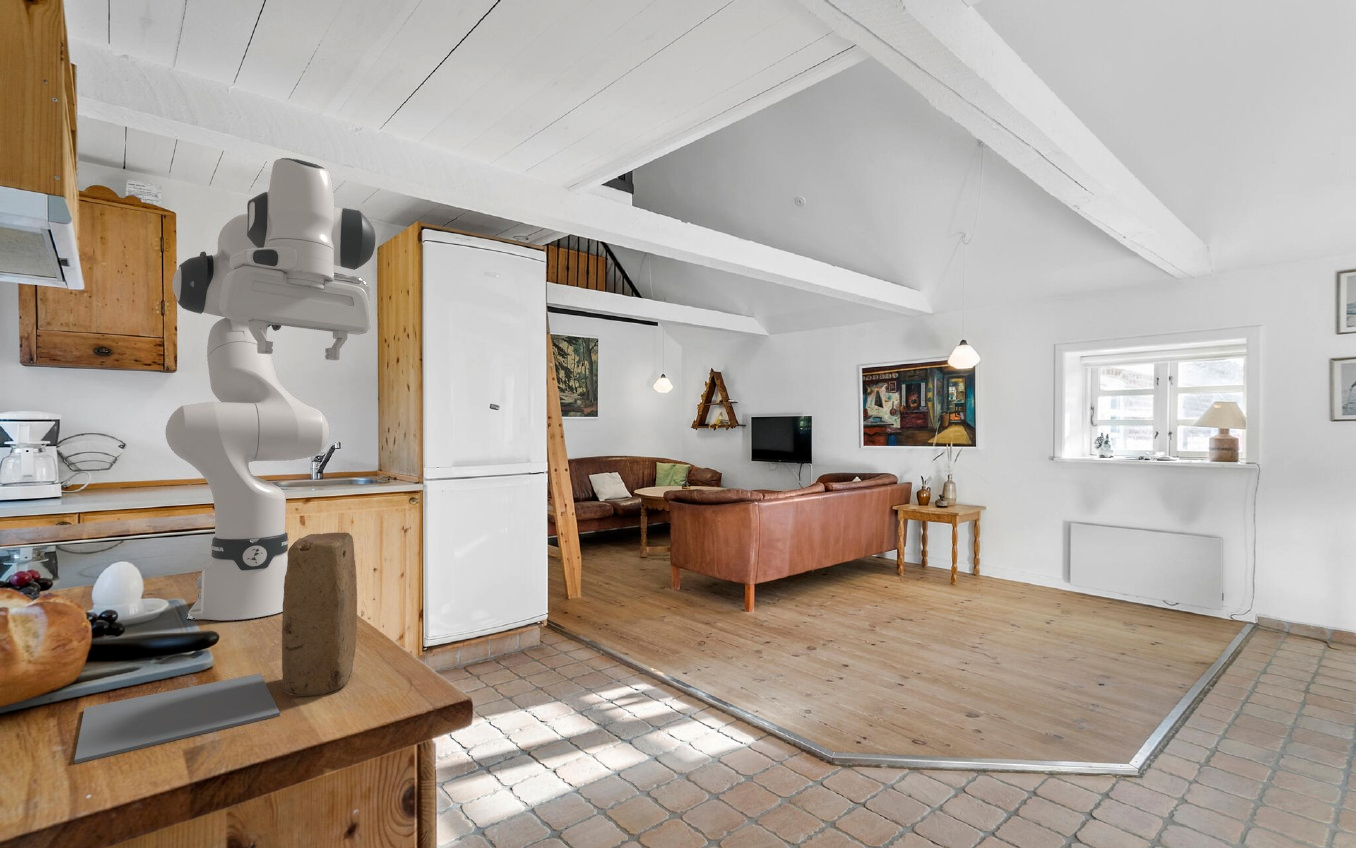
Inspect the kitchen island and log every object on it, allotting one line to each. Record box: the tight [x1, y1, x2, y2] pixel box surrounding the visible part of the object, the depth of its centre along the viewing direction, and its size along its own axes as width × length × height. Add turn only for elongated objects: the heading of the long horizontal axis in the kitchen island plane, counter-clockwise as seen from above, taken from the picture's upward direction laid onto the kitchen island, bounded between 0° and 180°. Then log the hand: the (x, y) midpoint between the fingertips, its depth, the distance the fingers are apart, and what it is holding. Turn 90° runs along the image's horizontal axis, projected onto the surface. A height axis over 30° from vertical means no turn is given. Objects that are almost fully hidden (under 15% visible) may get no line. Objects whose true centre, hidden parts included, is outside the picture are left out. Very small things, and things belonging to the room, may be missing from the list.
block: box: [281, 532, 358, 697], centre depth 88 cm, size 11×8×20 cm
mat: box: [73, 672, 281, 765], centre depth 78 cm, size 16×18×1 cm
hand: (299, 356), depth 99 cm, fingers open, 8 cm apart
